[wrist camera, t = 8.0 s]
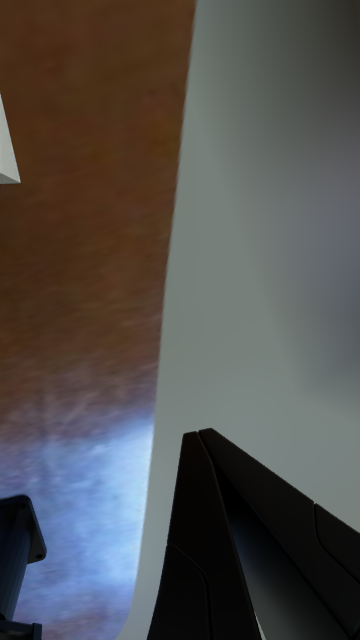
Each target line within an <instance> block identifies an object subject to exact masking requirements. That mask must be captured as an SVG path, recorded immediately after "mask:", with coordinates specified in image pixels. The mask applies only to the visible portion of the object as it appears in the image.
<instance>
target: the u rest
mask: <svg viewBox="0 0 360 640" xmlns="http://www.w3.org/2000/svg"><path fill="white" fill-rule="evenodd" d="M11 183H21V182H20V178H19V173H18V169H17V164H16V160H15V156H14V151H13V147H12V143H11V138H10V134H9V130H8V125H7V121H6V117H5V112H4V108H3V104H2V99H1V95H0V184H11Z"/></svg>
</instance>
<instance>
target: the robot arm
mask: <svg viewBox="0 0 360 640" xmlns="http://www.w3.org/2000/svg"><path fill="white" fill-rule="evenodd" d="M22 503H24V504H22ZM46 553H47V549H46V546H45V543H44V540H43V536H42V533H41V530H40V527H39V524H38V521H37V518H36V514H35V511H34V508H33V505H32V502H31V499H30V498H29V497H26V496H23V497H18V498H14V499H10V500H5V501H1V502H0V640H41V636H42V624H38V623H33V624H26V623H20V622H15V621H12V619H13V615H14V611H15V608H16V604H17V600H18V596H19V593H20V589H21V585H22V581H23V578H24V574H25V570H26V566H27V564H30V563H34V562H38V561H41V560H43V559H44V558H45V557H46ZM254 611H255V613H256V616H257V618H258V621H259V623H260V626H261V628H262V631H263V633H264V636H265V638H266V640H360V533H359V532H357V531H356V530H354V529H353V528H351V527H350V526H348V525H347V524H346V523H344V522H343V521H341V520H339V519H338V518H337V517H335V516H334V515H332V514H331V513H330V512H328V511H327V510H325V509H324V508H323V507H321V506H320V505H318V504H317V503H316V504H314V501H313V500H311V499H310V498H309V497H307V496H306V495H304V494H303V493H302V492H300V491H299V490H297V489H296V488H294V487H293V486H292V485H290V484H289V483H288V482H286V481H285V480H283V479H282V478H281V477H279V476H278V475H277V474H275V473H274V472H272V471H271V470H269V469H268V468H267V467H265V466H264V465H263V464H261V463H260V462H258V461H257V460H256V459H254V458H253V457H251V456H250V455H249V454H247V453H246V452H245V451H243V450H242V449H240V448H239V447H238V446H236V445H235V444H234V443H232V442H231V441H229V440H228V439H227V438H225V437H224V436H222V435H221V434H219V433H218V432H217V431H215V430H214V429H212V428H207V429H202V430H199V431H198V432H196V431H193V432H188V433H185V434H183V438H182V445H181V452H180V459H179V466H178V472H177V479H176V485H175V492H174V499H173V505H172V512H171V519H170V526H169V532H168V539H167V546H166V551H165V557H164V564H163V569H162V575H161V580H160V586H159V591H158V596H157V600H156V604H155V608H154V612H153V617H152V621H151V625H150V629H149V633H148V636H147V640H262V638H261V634H260V631H259V627H258V623H257V620H256V616H255V613H254Z"/></svg>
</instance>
